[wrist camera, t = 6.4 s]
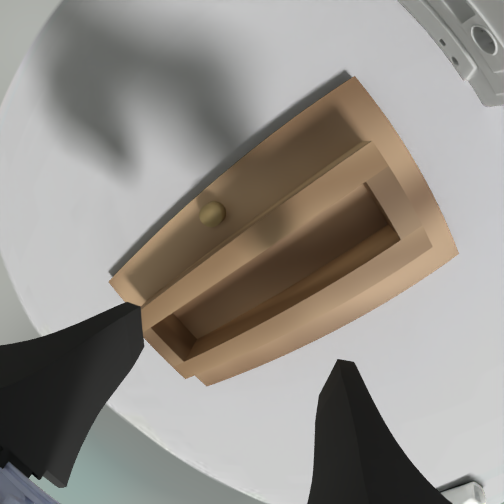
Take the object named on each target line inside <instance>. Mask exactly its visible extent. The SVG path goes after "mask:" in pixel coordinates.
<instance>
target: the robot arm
mask: <svg viewBox="0 0 504 504" xmlns="http://www.w3.org/2000/svg"><path fill="white" fill-rule="evenodd" d="M143 348H144V339H143V329H142V317H141V306H138V305H135V304H132V303H130V302H125V303H123V304H120V305H118V306H116V307H113V308H111V309H109V310H107V311H105V312H102V313H100V314H98V315H96V316H94V317H91V318H89V319H87V320H85V321H82V322H80V323H78V324H75V325H73V326H70V327H68V328H65V329H63V330H60V331H57V332H55V333H52V334H49V335H46V336H43V337H39V338H36V339H32V340H28V341H23V342H18V343H13V344H8V345H1V346H0V504H34V503H35V504H60V503H59V502H57V501H56V500H55V499H53V498H52V497H51V496H49V495H48V494H47V493H45V492H44V491H43V490H42V489H40V488H39V487H38V486H37V485H35V484H34V483H33V482H32V481H31V480H30V479H29V477H30V476H31V474H32V475H34V476H35V477H36V478H37V479H38V480H40V479H41V478H42V476H44V477H45V478H46V479H47V480H49V481H50V482H52V483H53V484H54V485H55V486H57V487H59V488H64V487H66V486H67V483H68V480H69V477H70V474H71V471H72V468H73V465H74V463H75V460H76V458H77V455H78V453H79V451H80V448H81V446H82V444H83V442H84V440H85V438H86V436H87V434H88V432H89V430H90V428H91V426H92V424H93V423H94V421H95V419H96V417H97V415H98V414H99V412H100V410H101V409H102V408H103V406H104V405H105V403H106V402H107V401H108V399H109V398H110V397H111V395H112V394H113V393H114V391H115V390H116V389H117V387H118V386H119V385H120V384H121V382H122V381H123V380H124V378H125V377H126V376H127V374H128V373H129V372H130V370H131V369H132V367H133V366H134V364H135V362H136V361H137V359H138V357H139V355H140V353H141V352H142V350H143ZM307 504H453V503H452V502H450V501H449V500H448V499H446V498H445V497H444V496H443V495H442V494H441V493H440V492H439V491H438V490H437V489H435V488H434V487H433V486H432V485H431V484H430V483H429V482H428V481H427V480H426V478H425V477H424V476H423V475H422V474H421V473H420V472H419V470H418V469H417V468H416V467H415V466H414V465H413V463H412V462H411V461H410V460H409V458H408V457H407V456H406V454H405V453H404V451H403V450H402V449H401V447H400V446H399V444H398V443H397V442H396V440H395V439H394V437H393V435H392V434H391V432H390V430H389V429H388V427H387V425H386V424H385V422H384V420H383V418H382V417H381V415H380V413H379V411H378V409H377V407H376V405H375V403H374V402H373V400H372V398H371V396H370V394H369V392H368V390H367V387H366V385H365V383H364V381H363V379H362V377H361V375H360V373H359V371H358V369H357V367H356V365H355V363H354V362H351V361H346V360H340V359H337V361H336V363H335V365H334V367H333V369H332V371H331V373H330V375H329V377H328V379H327V381H326V383H325V385H324V387H323V389H322V391H321V393H320V394H319V399H318V406H317V413H316V420H315V446H314V466H313V477H312V484H311V489H310V494H309V499H308V503H307Z"/></svg>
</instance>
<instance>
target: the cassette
mask: <svg viewBox="0 0 504 504" xmlns="http://www.w3.org/2000/svg"><path fill="white" fill-rule="evenodd" d="M398 1H399V2H400V3H401V4H402V5H403V6H404V7H405V8H406V9H407V10H408V11H409V12H410V13H411V15H412V16H413V17H414V18H415V19H416V20H417V21H418V22H419V23H420V24H421V25H422V27H423V28H424V29H425V30H426V31H427V32H428V33H429V35H430V36H431V37H432V38H433V39H434V41H435V42H436V43H437V44H438V46H439V47H440V48H441V50H442V51H443V52H444V53H445V55H446V56H447V57H448V59H449V60H450V62H451V63H452V64H453V66H454V67H455V69H456V70H457V72H458V73H459V75H460V76H461V78H462V79H463V81H469V83H470V84H471V86H472V87H473V89H474V90H475V92H476V94H477V96H478V97H479V99H480V101H481V102H482V104H483V105H484V106H486V107H492V106H502V105H504V0H398Z"/></svg>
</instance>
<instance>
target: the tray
mask: <svg viewBox="0 0 504 504" xmlns="http://www.w3.org/2000/svg"><path fill="white" fill-rule="evenodd" d="M458 254H459V252H458V250H457V247H456V245H455V242H454V240H453V237H452V235H451V233H450V230H449V228H448V226H447V223H446V221H445V219H444V217H443V215H442V212H441V210H440V208H439V206H438V204H437V202H436V200H435V198H434V196H433V194H432V192H431V190H430V188H429V186H428V184H427V183H426V181H425V179H424V177H423V175H422V173H421V172H420V170H419V168H418V166H417V165H416V163H415V161H414V159H413V158H412V156H411V154H410V153H409V151H408V149H407V148H406V146H405V145H404V143H403V141H402V140H401V138H400V137H399V135H398V134H397V132H396V131H395V129H394V128H393V126H392V125H391V123H390V122H389V120H388V119H387V118H386V116H385V115H384V113H383V112H382V111H381V109H380V108H379V106H378V105H377V104H376V102H375V101H374V100H373V98H372V97H371V96H370V95H369V93H368V92H367V91H366V89H365V88H364V87H363V86H362V84H361V83H360V82H359V81H358V80H357V78H356V77H355V76H354V77H352V78H351V79H349V80H348V81H346V82H345V83H343V84H342V85H340V86H339V87H337V88H336V89H334V90H333V91H331V92H330V93H328V94H327V95H325V96H324V97H322V98H321V99H319V100H318V101H317V102H315V103H314V104H312V105H311V106H309V107H308V108H307V109H305V110H304V111H302V112H301V113H300V114H298V115H297V116H296V117H294V118H293V119H291V120H290V121H289V122H287V123H286V124H285V125H283V126H282V127H281V128H279V129H278V130H277V131H275V132H274V133H273V134H272V135H270V136H269V137H268V138H266V139H265V140H264V141H262V142H261V143H260V144H259V145H257V146H256V147H255V148H254V149H252V150H251V151H250V152H249V153H247V154H246V155H245V156H244V157H242V158H241V159H240V160H239V161H237V162H236V163H235V164H234V165H233V166H231V167H230V168H229V169H228V170H227V171H225V172H224V173H223V174H222V175H221V176H219V177H218V178H217V179H216V180H215V181H214V182H212V183H211V184H210V185H209V186H208V187H207V188H206V189H204V190H203V191H202V192H201V193H200V194H199V195H198V196H196V197H195V198H194V199H193V200H192V201H191V202H190V203H189V204H187V205H186V206H185V207H184V208H183V209H182V210H181V211H180V212H179V213H178V214H176V215H175V216H174V217H173V218H172V219H171V220H170V221H169V222H168V223H167V224H166V225H165V226H164V227H163V228H162V229H160V230H159V231H158V232H157V233H156V234H155V235H154V236H153V237H152V238H151V239H150V240H149V241H148V242H147V243H146V244H145V245H144V246H143V247H142V248H141V249H140V250H139V251H138V252H137V253H136V254H135V255H134V256H133V257H132V258H131V259H130V260H129V261H128V262H127V263H126V264H125V265H124V266H123V267H122V268H121V269H120V270H119V271H118V272H117V273H116V274H115V275H114V276H113V278H112V279H111V280H110V281H109V283H110V284H111V286H112V287H113V288H114V289H115V291H116V292H117V293H118V294H119V296H120V297H121V298H122V299H123V300H124V301H125V302H130V303H132V304H135V305H138V306H141V317H142V329H143V337H144V338H145V340H146V341H147V342H148V343H149V344H150V345H151V346H152V347H153V348H154V349H155V350H156V351H157V352H158V353H159V354H160V355H161V356H162V357H163V358H164V359H165V360H166V361H167V362H168V363H169V364H170V365H171V366H172V367H173V368H174V369H175V370H176V371H177V372H178V373H179V374H180V375H182V376H183V377H184V378H185V379H187V378H189V377H192V376H194V375H195V376H196V377H197V378H198V379H199V380H200V381H201V382H203V383H204V384H205V385H206V386H209V385H212V384H215V383H218V382H220V381H223V380H226V379H228V378H231V377H234V376H236V375H239V374H241V373H244V372H246V371H249V370H251V369H253V368H256V367H258V366H261V365H263V364H265V363H268V362H270V361H272V360H275V359H277V358H279V357H281V356H284V355H286V354H288V353H290V352H292V351H294V350H297V349H299V348H301V347H303V346H305V345H307V344H309V343H311V342H313V341H315V340H317V339H319V338H321V337H323V336H325V335H327V334H329V333H331V332H333V331H335V330H337V329H339V328H341V327H343V326H345V325H346V324H348V323H350V322H352V321H354V320H356V319H357V318H359V317H361V316H363V315H365V314H366V313H368V312H370V311H372V310H373V309H375V308H377V307H379V306H380V305H382V304H384V303H385V302H387V301H389V300H390V299H392V298H394V297H395V296H397V295H398V294H400V293H402V292H403V291H405V290H406V289H408V288H410V287H411V286H413V285H414V284H416V283H417V282H419V281H420V280H422V279H423V278H425V277H427V276H428V275H429V274H431V273H432V272H434V271H435V270H437V269H438V268H440V267H441V266H443V265H444V264H445V263H447V262H448V261H450V260H451V259H452V258H454V257H455V256H457V255H458Z"/></svg>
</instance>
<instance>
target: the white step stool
mask: <svg viewBox="0 0 504 504" xmlns="http://www.w3.org/2000/svg"><path fill="white" fill-rule="evenodd" d="M440 493H441V494H442V495H443V496H444V497H445V498H446V499H448V500H449V501H450V502H452V503H453V504H485V503H486V499H485V493H484V491H483V489H482V487H481V486H480V485H479V484H477V483H476V482H474V481H473V482H470V483H467V484H464V485H461V486H458V487H455V488H452V489H449V490H446V491H443V492H440Z"/></svg>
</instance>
